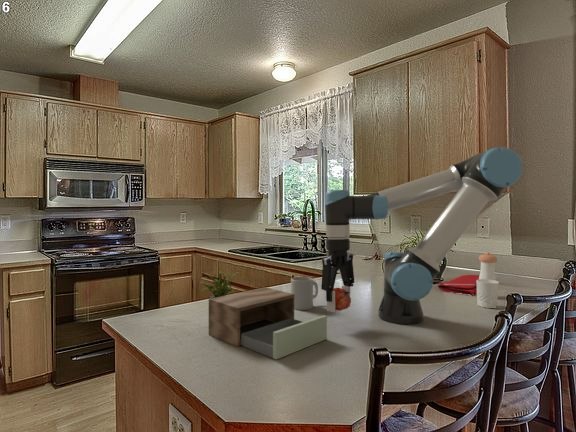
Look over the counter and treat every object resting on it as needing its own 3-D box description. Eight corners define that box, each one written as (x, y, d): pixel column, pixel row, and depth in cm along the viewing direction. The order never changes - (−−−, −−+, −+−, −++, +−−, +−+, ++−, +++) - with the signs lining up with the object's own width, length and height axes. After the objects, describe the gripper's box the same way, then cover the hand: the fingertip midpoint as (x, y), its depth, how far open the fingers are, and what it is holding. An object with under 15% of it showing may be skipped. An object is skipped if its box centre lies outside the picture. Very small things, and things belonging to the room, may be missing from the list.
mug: (299, 311, 141) (300, 282, 141) (286, 306, 148) (286, 278, 148) (324, 306, 149) (324, 278, 148) (310, 301, 155) (310, 274, 155)
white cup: (500, 306, 151) (501, 281, 151) (495, 310, 145) (495, 284, 145) (479, 302, 156) (480, 278, 156) (472, 306, 151) (473, 281, 150)
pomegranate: (324, 317, 124) (342, 303, 117) (317, 296, 128) (334, 281, 121) (342, 316, 127) (360, 302, 121) (335, 296, 131) (352, 281, 125)
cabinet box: (294, 327, 123) (294, 294, 123) (237, 346, 107) (238, 308, 106) (264, 318, 133) (264, 287, 132) (208, 334, 116) (208, 299, 116)
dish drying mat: (495, 282, 198) (495, 275, 198) (473, 297, 167) (473, 288, 167) (463, 278, 209) (463, 271, 209) (436, 291, 178) (436, 283, 177)
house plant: (227, 306, 147) (227, 264, 146) (250, 314, 137) (250, 269, 137) (194, 314, 137) (194, 268, 136) (216, 323, 127) (216, 274, 127)
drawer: (326, 338, 113) (326, 316, 113) (276, 359, 98) (276, 333, 97) (290, 327, 123) (290, 306, 123) (239, 344, 108) (239, 320, 108)
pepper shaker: (492, 299, 161) (493, 254, 161) (474, 296, 167) (475, 252, 166) (499, 296, 166) (500, 252, 166) (481, 293, 172) (482, 251, 171)
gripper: (346, 235, 133) (347, 300, 134) (308, 240, 119) (309, 313, 120) (365, 236, 128) (365, 304, 129) (327, 241, 114) (328, 318, 114)
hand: (338, 308), depth 124 cm, fingers closed on pomegranate, 7 cm apart
